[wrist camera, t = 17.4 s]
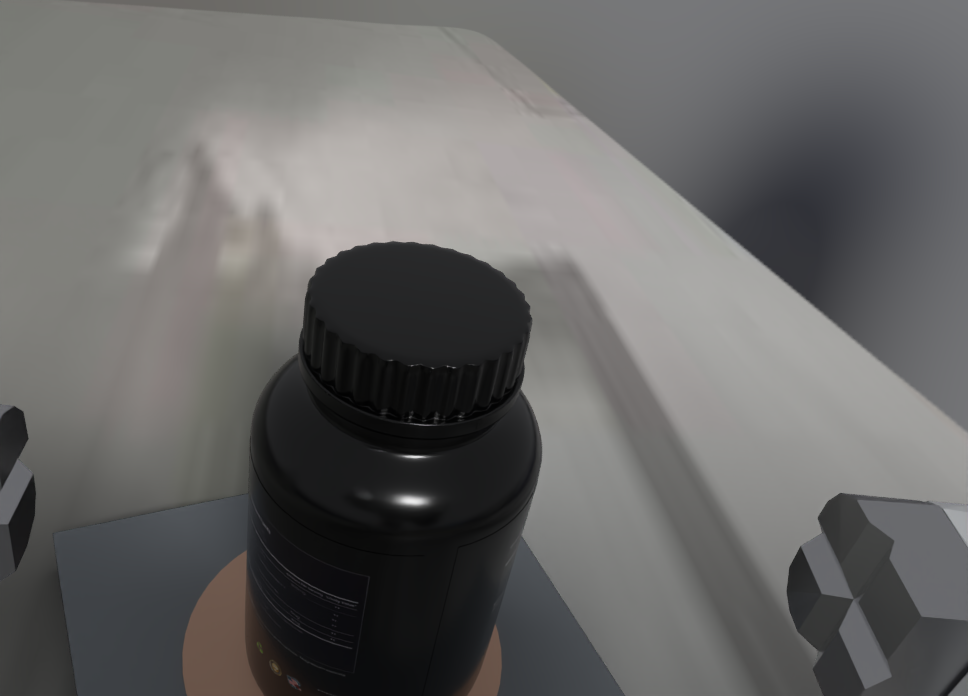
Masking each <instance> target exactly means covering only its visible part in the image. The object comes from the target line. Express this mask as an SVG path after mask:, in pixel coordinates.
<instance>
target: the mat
mask: <svg viewBox="0 0 968 696" xmlns="http://www.w3.org/2000/svg"><path fill="white" fill-rule="evenodd" d="M247 526H248V494H243V495H238V496H233V497H228V498H223V499H218V500H213V501H208V502H203V503H198V504H194V505H189V506H184V507H179V508H174V509H169V510H164V511H159V512H154V513H149V514H144V515H139V516H134V517H129V518H125V519H120V520H115V521H110V522H105V523H100V524H95V525H90V526H85V527H80V528H75V529H70V530H65V531H61V532H56V533H53V538H54V546H55V553H56V561H57V568H58V575H59V581H60V588H61V594H62V601H63V607H64V614H65V620H66V626H67V633H68V639H69V646H70V652H71V659H72V665H73V672H74V678H75V685H76V691H77V696H264V695H263V693H262V691H261V690H260V688H259V687H258V685H257V683H256V681H255V679H254V677H253V675H252V672H251V669H250V666H249V662H248V658H247V652H246V643H245V596H246V561H247ZM467 696H625V695H624V693H623V692H622V690H621V689H620V687H619V686H618V684H617V683H616V681H615V679H614V678H613V676H612V675H611V673H610V672H609V670H608V669H607V667H606V666H605V664H604V662H603V661H602V659H601V658H600V656H599V655H598V653H597V652H596V650H595V649H594V647H593V645H592V644H591V642H590V641H589V639H588V638H587V636H586V635H585V633H584V632H583V630H582V628H581V627H580V625H579V624H578V622H577V621H576V619H575V618H574V616H573V615H572V613H571V611H570V610H569V608H568V607H567V605H566V604H565V602H564V601H563V599H562V598H561V596H560V594H559V593H558V591H557V590H556V588H555V587H554V585H553V584H552V582H551V581H550V579H549V577H548V576H547V574H546V573H545V571H544V570H543V568H542V567H541V565H540V564H539V562H538V560H537V559H536V557H535V556H534V554H533V553H532V551H531V550H530V548H529V547H528V545H527V543H526V542H525V540H524V539H523V537H522V536H521V539H520V543H519V546H518V549H517V553H516V556H515V559H514V563H513V566H512V569H511V573H510V576H509V579H508V583H507V586H506V589H505V593H504V596H503V600H502V603H501V606H500V610H499V613H498V616H497V620H496V623H495V626H494V630H493V633H492V636H491V640H490V643H489V646H488V649H487V652H486V655H485V658H484V661H483V664H482V667H481V670H480V673H479V675H478V677H477V679H476V681H475V683H474V685H473V687H472V689H471V691H470V692H469V694H468V695H467Z"/></svg>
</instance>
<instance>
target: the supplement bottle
mask: <svg viewBox="0 0 968 696" xmlns="http://www.w3.org/2000/svg"><path fill="white" fill-rule="evenodd" d="M531 327H532V317H531V315H530V305H529V304H528V303H527V302H526V301H525V296H524V294H523V293H522V292H521V291H520V290H518V289H517V287H516V284H515V283H514V282H513V281H511V280H509V279H508V278H506V277H505V275H504V274H503V272H501V271H498V270H496V269H494V268H492V267H491V266H490V265H489V264H488V263H486V262H483V261H480V260H477V259H476V258H474V257H473V256H471V255H467V254H463V253H460V252H457V251H455V250H453V249H448V248H441V247H438V246H435V245H431V244H419V243H415V242H406V243H402V242H395V241H392V242H387V243H371V244H368V245H363V246H355V247H354V248H352V249H351V250H346V251H341V252H339V253H338V255H337V256H335V257H332V258H329V259H327V260H326V262H325V264H324V265H322V266H320V267H318V268H317V269H316V272H315V275H314V276H313V277H312V278H311V279H310V280H309V283H308V289H307V293H306V297H305V306H304V320H303V328H302V331H301V334H300V339H299V352H298V353H297V354H296V355H295V356H293V357H292V358H291V359H289V360H288V361H287V362H286V363H285V364H284V365H283V366H282V367H281V368H280V369H279V370H278V371H277V372H276V373H275V374H274V376H273V377H272V378H271V379H270V381H269V382H268V384H267V385H266V387H265V388H264V390H263V391H262V393H261V395H260V397H259V399H258V402H257V404H256V407H255V410H254V414H253V419H252V426H251V436H250V457H249V491H248V526H247V561H246V596H245V643H246V652H247V658H248V662H249V666H250V669H251V672H252V675H253V677H254V679H255V681H256V683H257V685H258V687H259V688H260V690H261V691H262V693H263V695H264V696H467V695H468V694H469V692H470V691H471V689H472V687H473V685H474V683H475V681H476V679H477V677H478V675H479V673H480V670H481V667H482V664H483V661H484V658H485V655H486V652H487V649H488V646H489V643H490V640H491V636H492V633H493V630H494V626H495V623H496V620H497V616H498V613H499V610H500V606H501V603H502V600H503V596H504V593H505V589H506V586H507V583H508V579H509V576H510V573H511V569H512V566H513V563H514V559H515V556H516V553H517V549H518V546H519V543H520V539H521V536H522V532H523V529H524V526H525V522H526V519H527V516H528V512H529V509H530V506H531V502H532V499H533V495H534V492H535V489H536V485H537V481H538V476H539V471H540V467H541V461H542V442H541V435H540V431H539V426H538V423H537V420H536V417H535V414H534V412H533V410H532V408H531V406H530V404H529V402H528V400H527V398H526V396H525V395H524V393H523V392H522V390H521V386H522V382H523V378H524V370H525V368H524V358H525V354H526V351H527V347H528V343H529V338H530V331H531Z"/></svg>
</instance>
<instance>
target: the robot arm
mask: <svg viewBox="0 0 968 696" xmlns="http://www.w3.org/2000/svg"><path fill="white" fill-rule="evenodd" d="M27 440H28V434H27V429H26V423H25V418H24V413H23V411H21V410H20V409H18V408H17V407H15V406H10V405H2V404H0V581H2V580H3V579H5V578H6V577H8V576H9V575H11V574H12V573H14V572H15V571H16V569H17V567H18V565H19V563H20V560H21V558H22V556H23V554H24V551H25V549H26V547H27V544H28V540H29V536H30V532H31V528H32V524H33V520H34V516H35V497H36V491H35V483H34V475H33V473H32V472H31V471H30V470H29V469H28V468H27V467H26V466H25V465H24V464H23V463H22V462H21V461H20V460H19V459H18V457H19V456H20V454H21V452H22V450H23V448H24V446H25V444H26V442H27ZM818 520H819V524H820V527H821V530H822V534H820V535H818V536H817V537H815V538H813V539H812V540H810V541H808V542H807V543H805V544H803V545H802V546H801V547H800V548H799V550H798V552H797V554H796V556H795V558H794V560H793V562H792V563H791V565H790V567H789V576H788V584H787V597H788V603H789V610H790V613H791V616H792V618H793V621H794V623H795V626H796V629H797V631H798V633H800V634H801V635H802V636H803V637H804V638H805V639H806V640H807V641H808V642H809V643H810V644H811V645H812V646H813V647H815V648H816V649H817V650H818V654H817V657H816V660H815V663H814V666H813V671H814V673H815V676H816V678H817V681H818V683H819V685H820V688H821V690H822V693H823V695H824V696H968V505H967V504H956V503H945V502H933V501H927V502H923V501H917V500H907V499H897V498H886V497H876V496H866V495H855V494H845V493H840V494H838V495H837V496H835V497H834V498H832V499H831V500H829V501H828V502H827V504H826V505H825V507H824V509H823V510H822V512H821V513H820V515H819V517H818Z"/></svg>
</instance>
